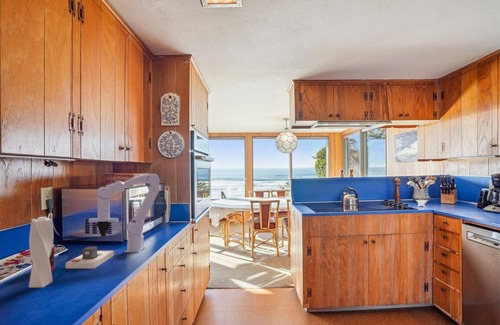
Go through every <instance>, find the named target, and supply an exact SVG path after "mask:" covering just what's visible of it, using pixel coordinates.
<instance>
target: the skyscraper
mask: <svg viewBox="0 0 500 325" xmlns="http://www.w3.org/2000/svg"><path fill="white" fill-rule="evenodd" d="M53 224H54V223H53V213H52V212H50V213H48V216H40V217H37V219H35V218H34V217H33V218H32V219H31V223H30V230H29V238H28V239H29V242H28V245H29V254H30V257H31V271H30V277H29V283H28V288H45V287H46V286H47V285H49V284H51V283H53V274H52V271H51V266H50V261H49V257H50V254H51V250H52V246H53V244H54V225H53ZM32 262H33V264H32Z"/></svg>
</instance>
